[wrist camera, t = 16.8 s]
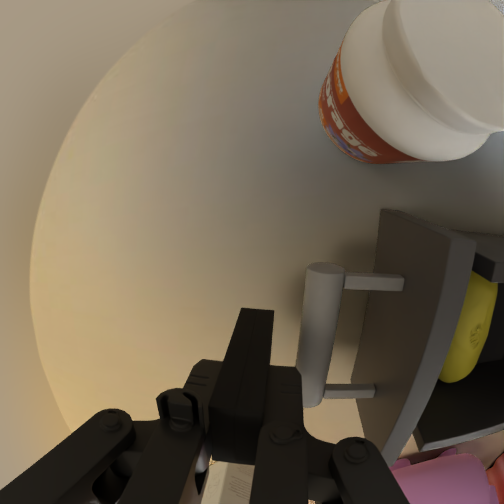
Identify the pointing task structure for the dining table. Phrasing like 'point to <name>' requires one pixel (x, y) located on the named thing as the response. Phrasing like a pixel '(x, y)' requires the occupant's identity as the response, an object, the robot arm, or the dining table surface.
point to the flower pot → (497, 477)
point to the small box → (228, 484)
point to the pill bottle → (416, 81)
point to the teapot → (445, 480)
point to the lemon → (470, 329)
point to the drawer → (409, 337)
